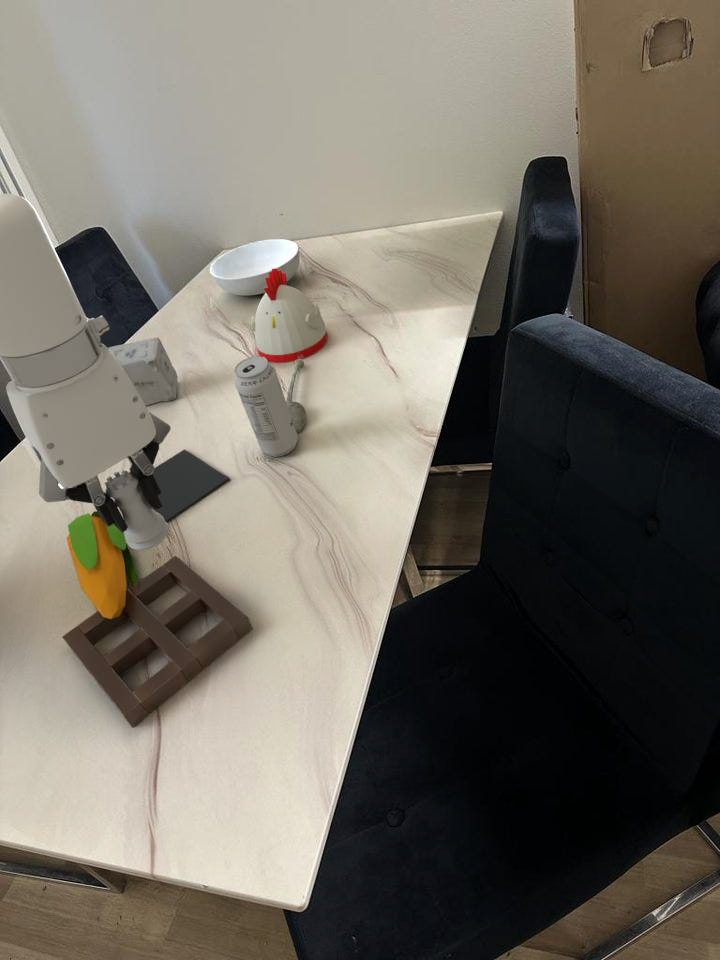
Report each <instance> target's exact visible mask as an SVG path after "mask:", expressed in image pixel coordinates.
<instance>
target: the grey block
mask: <svg viewBox="0 0 720 960" xmlns="http://www.w3.org/2000/svg"><path fill="white" fill-rule="evenodd" d="M108 348H109V350H110V351H111V352H112V353H113V355H114V356H115V357H116V359H117V360H118V362H119V363H120V364H121V366H122V367H123V369H124V370H125V372H126V374H127V375H128V377H129V378H130V380H131V382H132V383H133V385H134V386H135V388H136V390H137V391H138V393H139V395H140V397H141V399H142V400H143V402H144V404H145V406H146V407H147V406H151V405H153V404H157V403H160V402H166V403H167V402H170V401H174V400H175V399H177V389H178V379H179V376H178V373H177V370H176V369H175V366H174V365H173V363H172V361H171V359H170V357H169V355H168V353H167V351H166V349H165V347H164V344H163V343H162V340H161V339H160V337H158V336H157V337H152V338H147V339H142V340H137V341H134V342H130V343H124V344H118V345H113V346H109V347H108Z"/></svg>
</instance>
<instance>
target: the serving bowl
mask: <svg viewBox="0 0 720 960" xmlns="http://www.w3.org/2000/svg"><path fill="white" fill-rule="evenodd" d="M300 259H301V256H300V248H299V244H297V243H296V242H294V241H293V240H289V239H283V238H282V239H281V238H279V239H278V238H277V239H265V240H259V241H255V242H250V243H247V244H243V245H241V246H238V247H235V248H233V249H231V250H228V251H227V252H225V253H223V254H222V255H220V256H218V257H217V258H216V259H214V261H213V262H212V263H211V265H210V267H209V273H210V275H211V277H212V280H213V281H214V283H216V285H217V286H218V287H219V288H220V289H222V290H223V291H225V292H227V293H229V294H232V295H236V296H246V297H247V296H255V295H261V294H265V293H266V292H265V290H264V288H268V287H267V284H266V280H265V278H270V277H269V272H272V269H275V268H277V271H280V270H281V271H282V273H286V281H287V283H288V282H289V281H290V280H291V279H292V278H293V277H294V276H295V274H296V273H297V271H298V269H299V266H300Z"/></svg>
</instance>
